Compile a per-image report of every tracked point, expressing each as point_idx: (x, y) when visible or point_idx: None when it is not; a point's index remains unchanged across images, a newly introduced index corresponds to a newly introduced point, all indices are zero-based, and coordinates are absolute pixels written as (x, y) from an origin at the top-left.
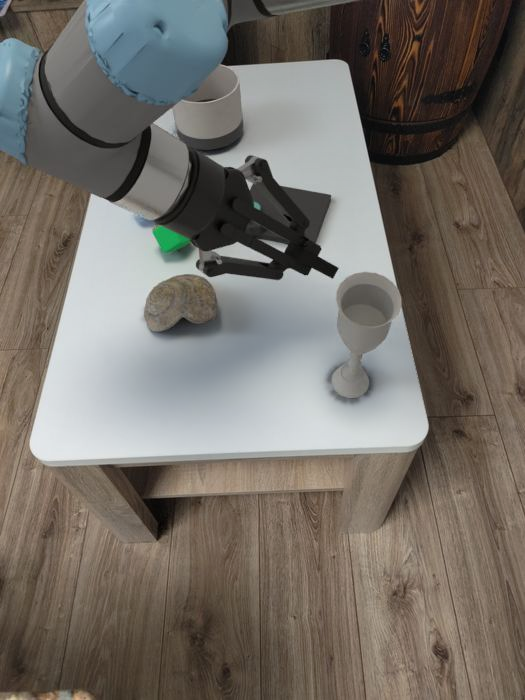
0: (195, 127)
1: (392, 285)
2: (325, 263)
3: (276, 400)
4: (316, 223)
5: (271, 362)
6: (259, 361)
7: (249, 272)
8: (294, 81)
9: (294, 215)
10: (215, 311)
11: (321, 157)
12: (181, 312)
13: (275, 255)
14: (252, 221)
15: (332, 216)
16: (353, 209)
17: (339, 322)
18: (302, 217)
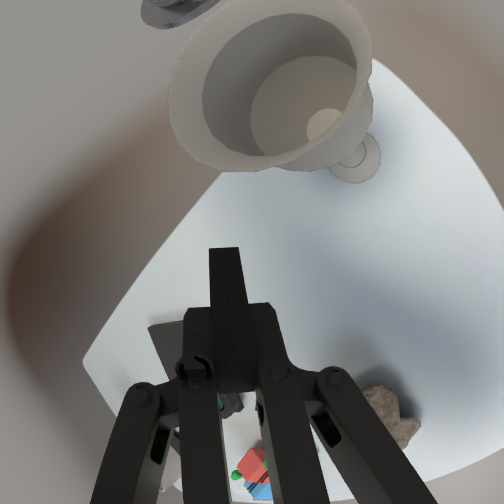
0: (174, 465)
1: (181, 66)
2: (216, 279)
3: (442, 230)
4: (179, 328)
5: (394, 274)
6: (401, 290)
7: (401, 472)
8: (106, 391)
9: (134, 451)
10: (372, 390)
11: (129, 351)
12: (395, 424)
13: (295, 438)
14: (219, 397)
15: (164, 315)
16: (147, 298)
17: (354, 133)
18: (128, 418)
